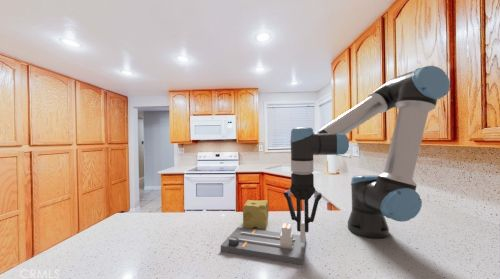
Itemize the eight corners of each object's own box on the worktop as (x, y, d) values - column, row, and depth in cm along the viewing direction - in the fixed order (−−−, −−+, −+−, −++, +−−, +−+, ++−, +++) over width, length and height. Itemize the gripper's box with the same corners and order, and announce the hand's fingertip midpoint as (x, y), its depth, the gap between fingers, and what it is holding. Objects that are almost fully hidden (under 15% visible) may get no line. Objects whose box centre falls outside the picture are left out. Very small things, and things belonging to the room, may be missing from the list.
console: (305, 241, 81) (305, 231, 81) (302, 265, 65) (302, 253, 65) (237, 231, 89) (237, 223, 89) (220, 251, 74) (220, 240, 74)
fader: (293, 240, 76) (293, 223, 76) (291, 246, 72) (291, 228, 72) (282, 239, 77) (281, 222, 77) (280, 244, 74) (279, 226, 74)
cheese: (266, 230, 91) (265, 206, 91) (241, 228, 93) (241, 205, 93) (268, 220, 101) (268, 199, 101) (246, 219, 104) (246, 199, 104)
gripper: (322, 171, 74) (322, 238, 75) (284, 170, 79) (285, 233, 79) (322, 175, 67) (323, 249, 67) (281, 173, 71) (282, 243, 72)
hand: (303, 240), depth 73 cm, fingers closed
